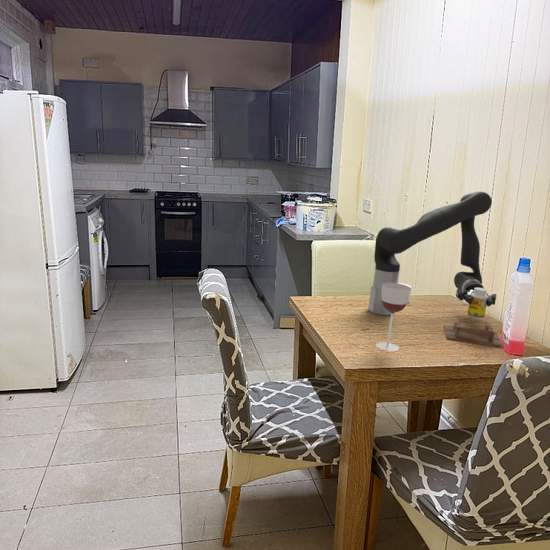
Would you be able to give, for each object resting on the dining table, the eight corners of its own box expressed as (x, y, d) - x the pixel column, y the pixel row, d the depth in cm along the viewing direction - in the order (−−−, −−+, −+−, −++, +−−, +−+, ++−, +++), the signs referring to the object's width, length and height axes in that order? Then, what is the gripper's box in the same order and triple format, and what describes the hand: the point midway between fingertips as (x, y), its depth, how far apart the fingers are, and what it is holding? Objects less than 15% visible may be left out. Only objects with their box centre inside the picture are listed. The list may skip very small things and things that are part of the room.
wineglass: (395, 353, 156) (404, 291, 152) (369, 345, 161) (377, 284, 157) (405, 347, 163) (414, 287, 158) (380, 339, 168) (388, 281, 163)
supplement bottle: (463, 315, 179) (468, 287, 176) (475, 313, 181) (480, 286, 179) (475, 320, 174) (480, 291, 171) (487, 318, 176) (492, 290, 174)
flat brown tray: (443, 327, 187) (445, 316, 187) (495, 334, 184) (497, 323, 183) (446, 339, 174) (448, 327, 173) (502, 347, 170) (504, 335, 169)
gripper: (454, 278, 190) (459, 289, 174) (495, 283, 187) (503, 294, 171) (451, 297, 192) (455, 310, 176) (491, 302, 189) (500, 315, 173)
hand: (479, 302), depth 174 cm, fingers closed on supplement bottle, 5 cm apart
